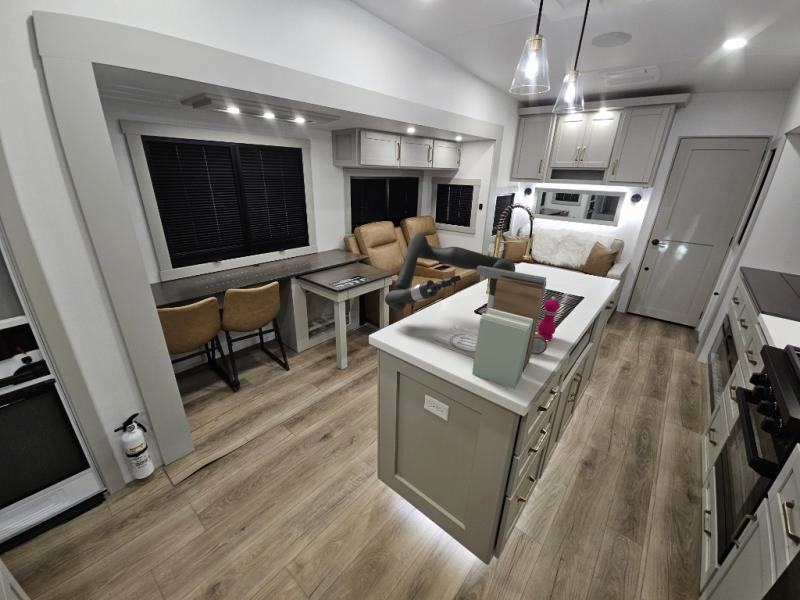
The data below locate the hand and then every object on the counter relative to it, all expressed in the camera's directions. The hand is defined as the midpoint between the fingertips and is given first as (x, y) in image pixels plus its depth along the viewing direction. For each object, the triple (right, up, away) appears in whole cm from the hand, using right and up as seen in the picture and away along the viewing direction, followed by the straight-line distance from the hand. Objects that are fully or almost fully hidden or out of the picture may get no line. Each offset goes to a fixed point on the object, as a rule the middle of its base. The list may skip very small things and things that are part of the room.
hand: (455, 279), depth 127 cm
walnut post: (+19, -32, -3) cm, 37 cm away
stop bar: (+17, -1, -12) cm, 21 cm away
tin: (+30, -30, +4) cm, 42 cm away
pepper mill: (+43, -26, +17) cm, 53 cm away
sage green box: (+12, -35, -13) cm, 40 cm away
